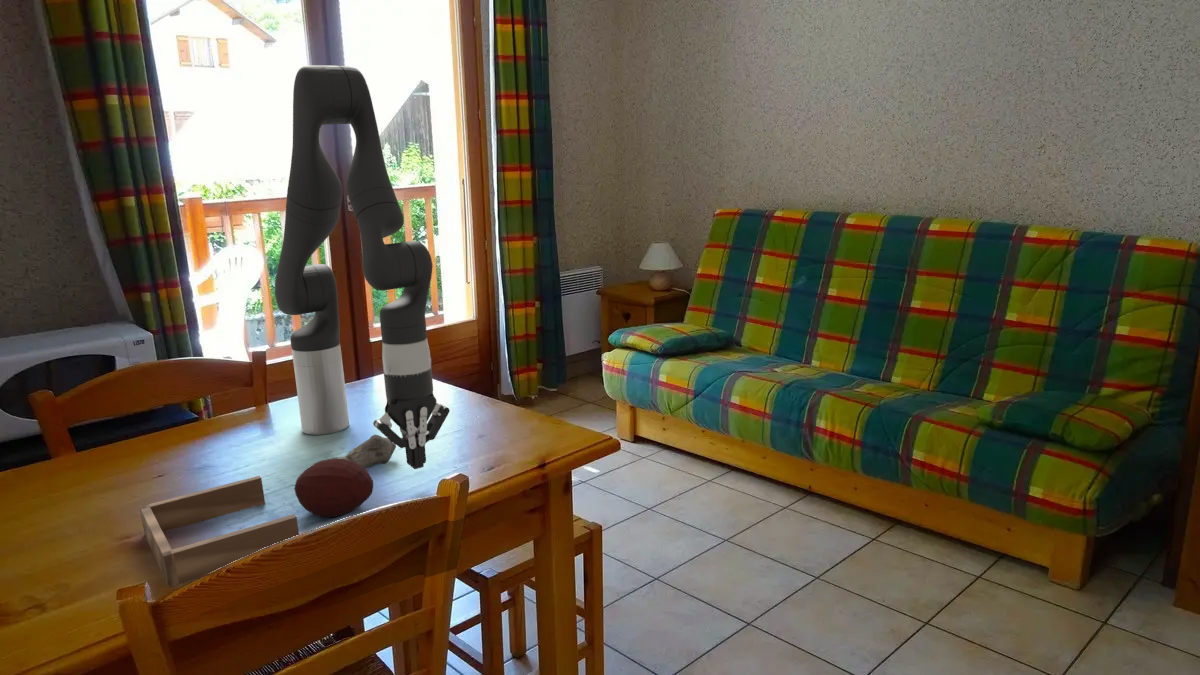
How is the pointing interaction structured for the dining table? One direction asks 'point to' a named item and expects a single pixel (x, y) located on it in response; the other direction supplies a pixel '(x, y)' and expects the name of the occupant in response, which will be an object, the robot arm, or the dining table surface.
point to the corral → (219, 549)
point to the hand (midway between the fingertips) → (416, 466)
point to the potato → (333, 487)
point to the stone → (372, 452)
